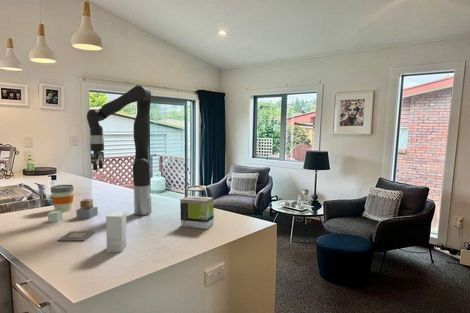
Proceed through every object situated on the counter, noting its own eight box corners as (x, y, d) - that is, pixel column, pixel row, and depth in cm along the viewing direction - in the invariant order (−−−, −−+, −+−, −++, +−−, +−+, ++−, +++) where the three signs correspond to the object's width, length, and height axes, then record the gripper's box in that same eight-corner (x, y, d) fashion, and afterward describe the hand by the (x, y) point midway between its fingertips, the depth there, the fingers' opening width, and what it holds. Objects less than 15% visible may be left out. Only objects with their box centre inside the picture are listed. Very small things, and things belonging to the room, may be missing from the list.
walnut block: (93, 207, 184) (92, 199, 184) (89, 209, 179) (89, 201, 179) (84, 207, 184) (83, 199, 183) (80, 209, 179) (80, 201, 178)
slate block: (97, 215, 186) (97, 207, 185) (89, 219, 178) (89, 210, 177) (85, 214, 187) (84, 206, 186) (76, 218, 179) (76, 210, 179)
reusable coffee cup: (46, 211, 192) (45, 187, 191) (64, 206, 204) (63, 184, 203) (61, 213, 188) (60, 189, 186) (79, 208, 199) (78, 185, 198)
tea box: (214, 224, 169) (214, 197, 168) (206, 229, 160) (206, 201, 158) (189, 221, 174) (188, 194, 173) (180, 226, 165) (179, 198, 163)
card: (95, 232, 155) (95, 230, 155) (84, 241, 143) (84, 239, 143) (70, 232, 155) (70, 230, 155) (57, 241, 143) (57, 239, 143)
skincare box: (112, 245, 138) (111, 210, 137) (127, 244, 139) (126, 210, 137) (106, 252, 130) (104, 216, 129) (122, 252, 131) (121, 215, 129)
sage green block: (62, 219, 177) (62, 210, 176) (57, 222, 172) (57, 213, 171) (53, 219, 177) (53, 210, 176) (48, 222, 172) (47, 213, 171)
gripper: (98, 143, 183) (100, 171, 185) (107, 142, 197) (108, 167, 199) (85, 143, 183) (87, 171, 184) (95, 142, 197) (96, 168, 198)
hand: (98, 169), depth 191 cm, fingers open, 8 cm apart
